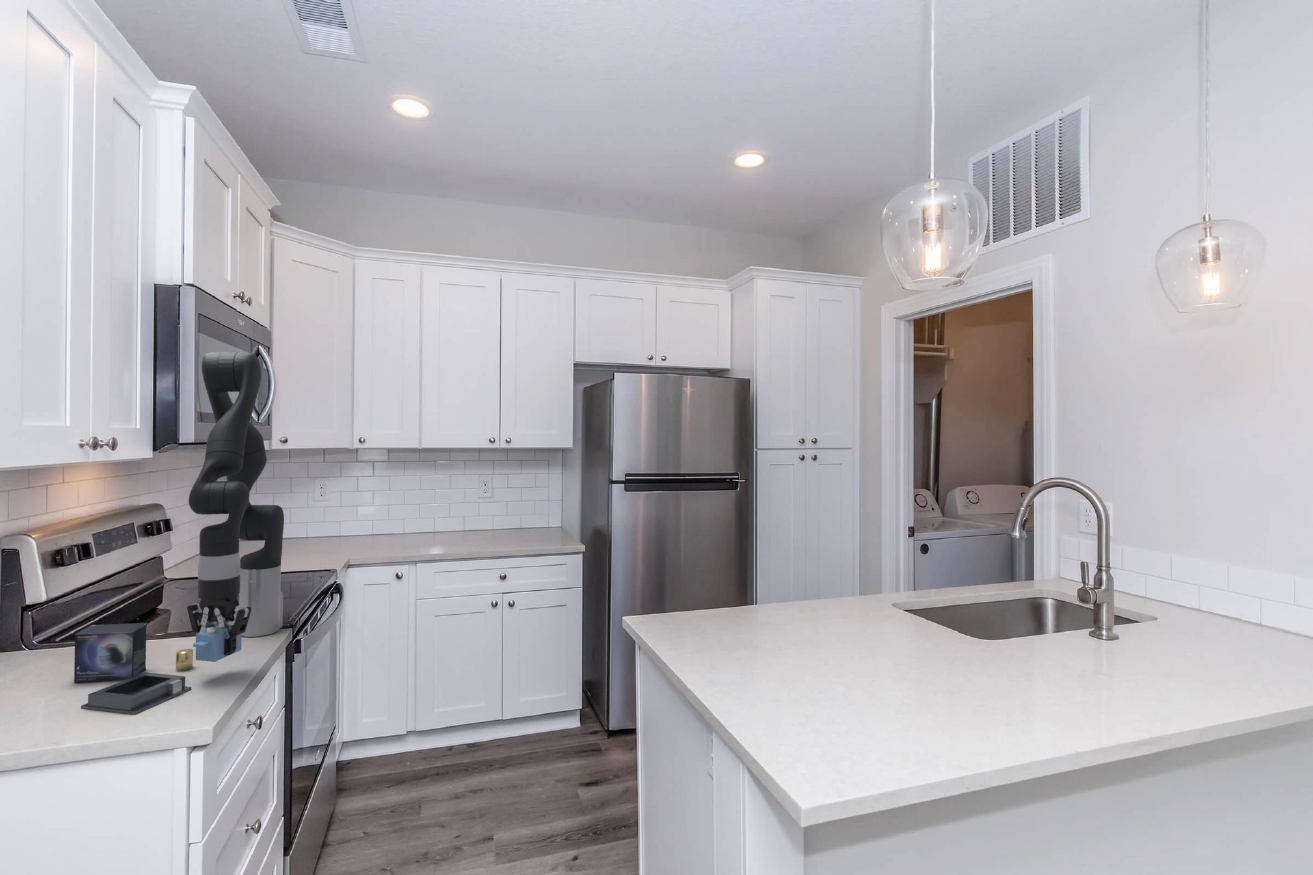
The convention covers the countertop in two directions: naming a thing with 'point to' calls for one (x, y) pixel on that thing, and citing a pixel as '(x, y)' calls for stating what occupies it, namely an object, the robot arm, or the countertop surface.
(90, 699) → the frame
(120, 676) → the small box
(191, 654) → the cylinder
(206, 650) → the servo
